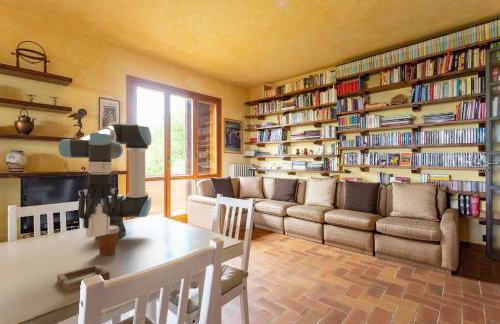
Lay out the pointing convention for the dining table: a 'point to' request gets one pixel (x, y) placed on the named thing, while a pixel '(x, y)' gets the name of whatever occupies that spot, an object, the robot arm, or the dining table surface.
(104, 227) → the eye dropper bottle
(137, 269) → the dining table surface
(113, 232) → the disposable coffee cup
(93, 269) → the wooden tray
